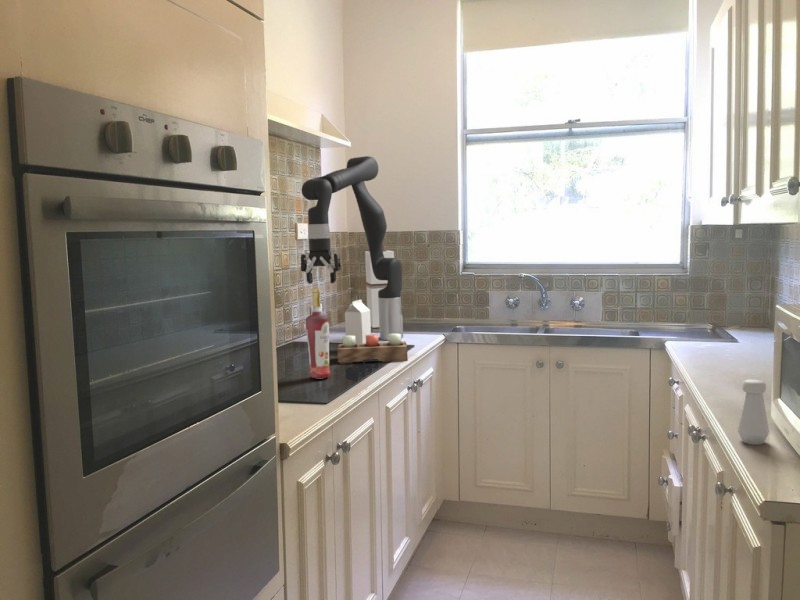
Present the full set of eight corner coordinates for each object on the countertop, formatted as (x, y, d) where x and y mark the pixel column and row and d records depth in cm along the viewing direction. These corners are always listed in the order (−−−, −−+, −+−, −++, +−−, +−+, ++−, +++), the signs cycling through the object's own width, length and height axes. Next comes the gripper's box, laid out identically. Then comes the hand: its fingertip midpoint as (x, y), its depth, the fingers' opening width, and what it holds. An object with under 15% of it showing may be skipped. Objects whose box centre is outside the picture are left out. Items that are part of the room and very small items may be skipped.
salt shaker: (739, 435, 146) (741, 376, 145) (770, 439, 143) (771, 378, 141) (735, 443, 141) (736, 382, 140) (766, 448, 138) (768, 385, 137)
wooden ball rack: (338, 363, 236) (337, 349, 235) (339, 357, 245) (338, 344, 245) (407, 360, 237) (407, 346, 236) (405, 355, 246) (405, 341, 246)
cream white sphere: (388, 345, 239) (388, 335, 238) (388, 343, 243) (388, 333, 242) (401, 345, 239) (401, 335, 238) (400, 342, 243) (400, 333, 243)
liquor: (321, 381, 209) (317, 290, 206) (303, 379, 213) (298, 290, 210) (336, 376, 215) (332, 288, 212) (318, 374, 219) (314, 287, 216)
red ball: (365, 346, 238) (365, 336, 238) (366, 344, 243) (365, 334, 242) (378, 346, 238) (378, 336, 238) (378, 343, 243) (378, 334, 242)
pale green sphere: (342, 347, 238) (342, 337, 237) (343, 345, 242) (342, 335, 242) (355, 347, 238) (355, 337, 238) (355, 344, 242) (355, 335, 242)
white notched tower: (396, 330, 303) (393, 251, 298) (372, 332, 300) (369, 252, 296) (390, 326, 314) (388, 250, 310) (368, 328, 311) (365, 251, 307)
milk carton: (371, 349, 260) (369, 299, 258) (363, 352, 254) (360, 301, 252) (355, 348, 263) (353, 299, 261) (346, 351, 257) (344, 301, 255)
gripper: (342, 236, 241) (344, 282, 243) (305, 237, 245) (307, 282, 247) (333, 237, 234) (336, 284, 236) (296, 238, 238) (298, 284, 240)
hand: (321, 283), depth 241 cm, fingers open, 8 cm apart
